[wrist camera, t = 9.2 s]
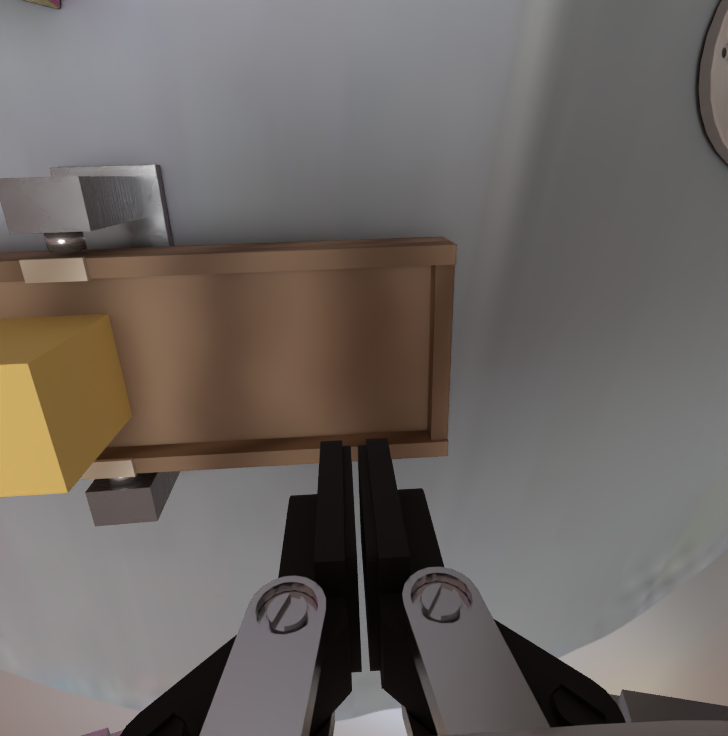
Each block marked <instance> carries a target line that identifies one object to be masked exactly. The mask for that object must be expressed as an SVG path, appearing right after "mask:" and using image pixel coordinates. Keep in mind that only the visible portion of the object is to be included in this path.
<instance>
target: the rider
mask: <svg viewBox="0 0 728 736" xmlns="http://www.w3.org/2000/svg"><path fill="white" fill-rule="evenodd" d="M131 417H132V412H131V408H130V404H129V400H128V395H127V391H126V387H125V382H124V378H123V374H122V370H121V365H120V361H119V357H118V353H117V348H116V344H115V340H114V335H113V331H112V327H111V323H110V318H109V314H96V315H73V316H50V317H28V318H5V319H0V497H7V496H24V495H40V494H57V493H68V492H69V491H70V490H71V488H72V487H73V486H74V485H75V484H76V482H77V481H78V480H79V479H80V478H81V477H82V475H83V474H84V473H85V472H86V471H87V469H88V468H89V467H90V466H91V465H92V463H93V462H94V461H95V460H96V459H97V457H98V456H99V455H100V454H101V453H102V452H103V450H104V449H105V448H106V447H107V446H108V444H109V443H110V442H111V441H112V440H113V438H114V437H115V436H116V435H117V434H118V432H119V431H120V430H121V429H122V428H123V426H124V425H125V424H126V423H127V422H128V421H129V419H130V418H131Z"/></svg>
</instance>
